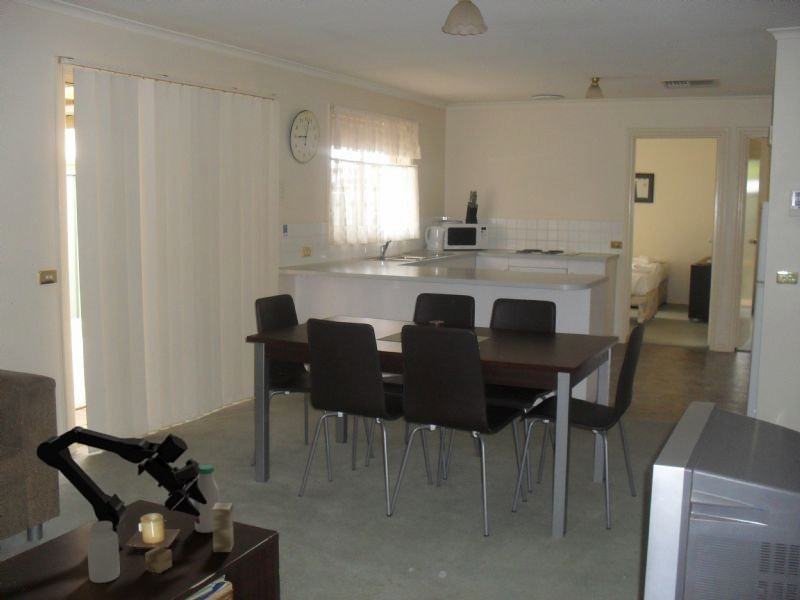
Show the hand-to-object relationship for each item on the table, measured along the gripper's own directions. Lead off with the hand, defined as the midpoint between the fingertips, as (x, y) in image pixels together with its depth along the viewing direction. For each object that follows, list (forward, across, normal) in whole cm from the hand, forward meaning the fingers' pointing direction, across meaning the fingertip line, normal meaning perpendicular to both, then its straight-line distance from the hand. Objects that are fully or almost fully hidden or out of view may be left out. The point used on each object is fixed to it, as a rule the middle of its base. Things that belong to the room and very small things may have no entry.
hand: (202, 509), depth 235 cm
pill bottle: (-8, -18, +25) cm, 32 cm away
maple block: (+13, 0, +4) cm, 13 cm away
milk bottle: (+7, +15, +10) cm, 19 cm away
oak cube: (+2, -13, +16) cm, 20 cm away
